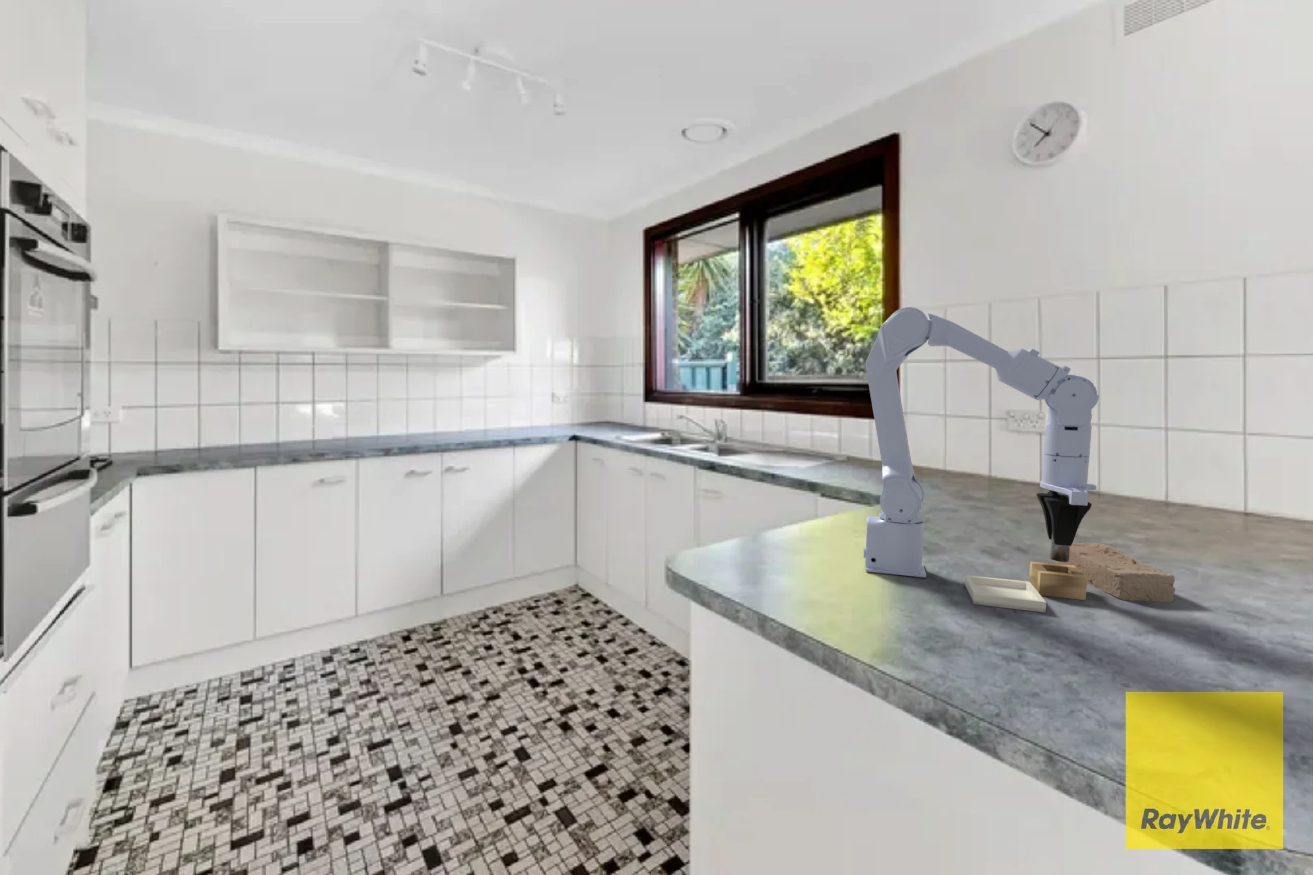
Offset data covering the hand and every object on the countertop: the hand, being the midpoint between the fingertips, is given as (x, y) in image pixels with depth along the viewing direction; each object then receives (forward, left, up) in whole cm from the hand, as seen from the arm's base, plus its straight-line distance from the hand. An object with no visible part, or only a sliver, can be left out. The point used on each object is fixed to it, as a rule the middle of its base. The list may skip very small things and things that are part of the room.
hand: (1059, 542), depth 90 cm
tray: (-9, -6, -8) cm, 13 cm away
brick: (+10, +8, -8) cm, 15 cm away
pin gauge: (0, 0, -3) cm, 3 cm away
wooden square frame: (0, 0, -8) cm, 8 cm away
